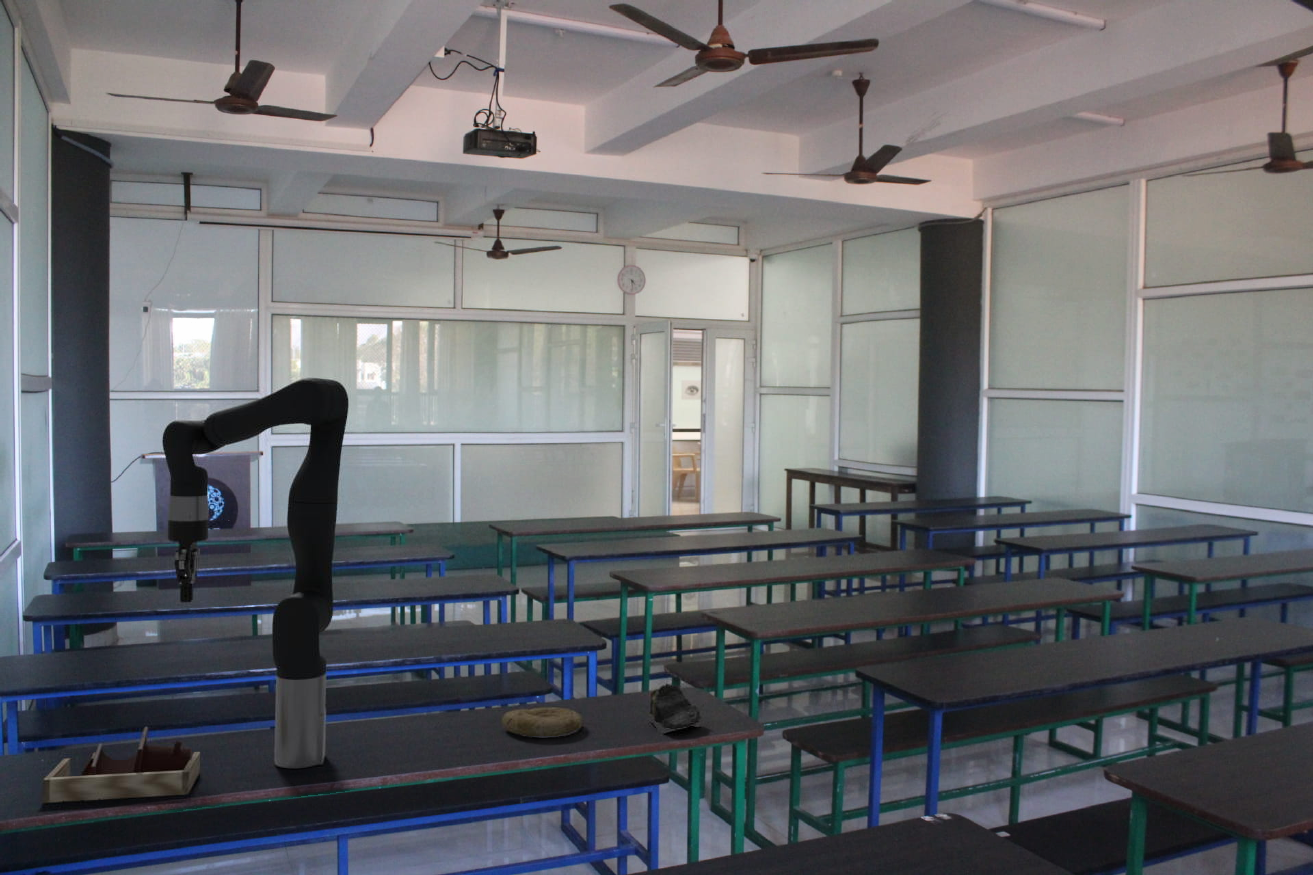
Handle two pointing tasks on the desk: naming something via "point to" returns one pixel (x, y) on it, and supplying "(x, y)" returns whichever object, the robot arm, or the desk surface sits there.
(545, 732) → the brown thick ring
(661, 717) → the rock
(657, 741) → the desk surface
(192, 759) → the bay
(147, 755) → the bracket
